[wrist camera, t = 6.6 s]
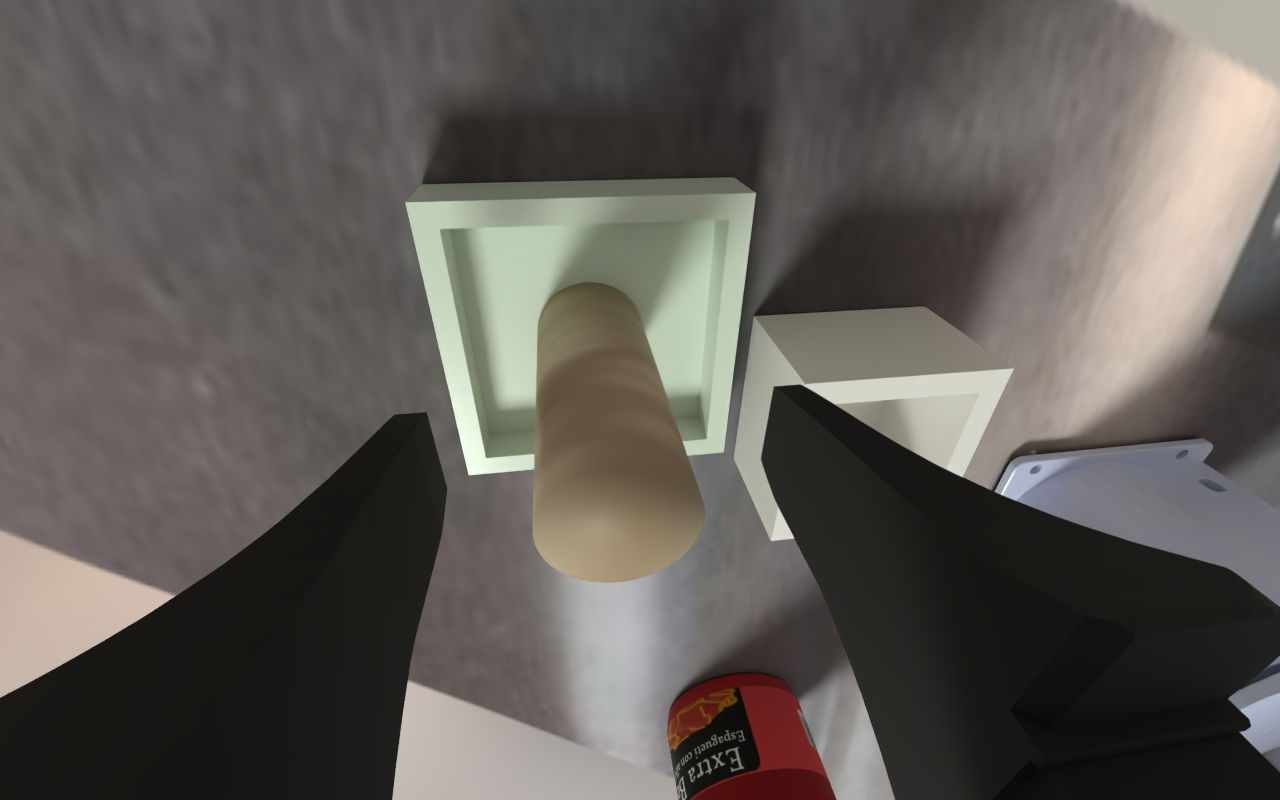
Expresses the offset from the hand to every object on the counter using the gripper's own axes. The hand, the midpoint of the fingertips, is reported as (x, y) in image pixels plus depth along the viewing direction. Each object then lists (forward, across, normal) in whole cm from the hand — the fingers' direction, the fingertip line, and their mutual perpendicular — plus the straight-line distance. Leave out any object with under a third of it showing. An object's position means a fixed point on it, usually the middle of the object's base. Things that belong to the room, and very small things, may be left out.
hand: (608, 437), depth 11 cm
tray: (+6, 0, 0) cm, 6 cm away
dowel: (+5, 0, 0) cm, 5 cm away
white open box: (+6, -8, +3) cm, 10 cm away
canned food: (+6, -7, +25) cm, 27 cm away
